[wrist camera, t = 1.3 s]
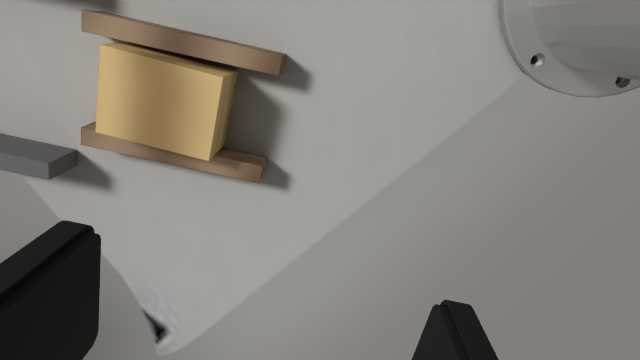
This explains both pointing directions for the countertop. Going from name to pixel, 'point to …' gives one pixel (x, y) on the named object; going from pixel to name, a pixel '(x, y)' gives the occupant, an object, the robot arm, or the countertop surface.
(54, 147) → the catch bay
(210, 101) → the ochre block
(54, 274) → the robot arm
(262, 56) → the chute
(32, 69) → the countertop surface
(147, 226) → the countertop surface
